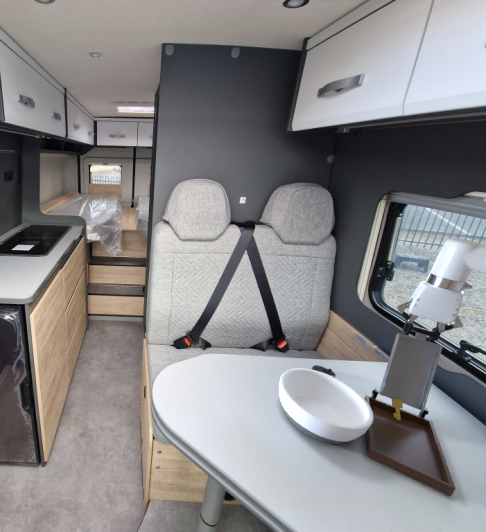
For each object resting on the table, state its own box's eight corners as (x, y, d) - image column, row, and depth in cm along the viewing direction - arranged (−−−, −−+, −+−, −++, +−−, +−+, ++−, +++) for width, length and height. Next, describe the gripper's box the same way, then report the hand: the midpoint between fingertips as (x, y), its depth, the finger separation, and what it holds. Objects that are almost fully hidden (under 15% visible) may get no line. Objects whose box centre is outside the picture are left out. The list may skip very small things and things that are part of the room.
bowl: (278, 437, 80) (287, 412, 77) (269, 381, 101) (275, 360, 98) (377, 466, 75) (390, 441, 72) (346, 401, 95) (355, 379, 92)
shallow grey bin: (400, 323, 95) (403, 322, 93) (441, 335, 91) (446, 334, 88) (378, 393, 94) (381, 395, 91) (419, 409, 89) (424, 411, 86)
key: (391, 397, 92) (392, 397, 92) (401, 400, 91) (402, 399, 91) (392, 418, 89) (393, 418, 89) (403, 421, 88) (404, 421, 88)
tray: (363, 401, 96) (366, 394, 95) (428, 427, 88) (432, 421, 87) (367, 456, 77) (370, 449, 76) (450, 496, 69) (455, 488, 68)
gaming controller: (311, 365, 109) (328, 360, 106) (319, 378, 109) (337, 373, 106) (310, 380, 101) (329, 375, 98) (319, 394, 101) (338, 390, 98)
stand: (367, 399, 97) (373, 387, 95) (421, 421, 90) (428, 408, 88) (368, 403, 95) (374, 390, 94) (422, 425, 89) (429, 412, 87)
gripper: (482, 288, 85) (452, 343, 91) (404, 270, 94) (382, 322, 100) (492, 296, 79) (459, 355, 86) (408, 277, 88) (384, 331, 94)
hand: (418, 336), depth 93 cm, fingers closed on shallow grey bin, 5 cm apart
